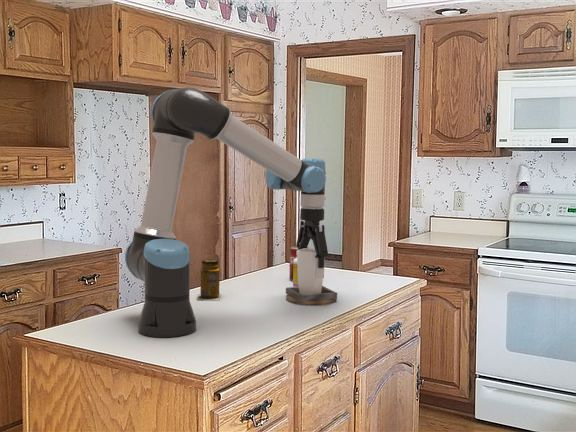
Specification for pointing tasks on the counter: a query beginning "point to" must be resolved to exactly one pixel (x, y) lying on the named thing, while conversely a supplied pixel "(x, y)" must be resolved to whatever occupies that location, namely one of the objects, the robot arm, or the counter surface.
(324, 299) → the dark brown tray
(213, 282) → the condiment
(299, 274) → the cup
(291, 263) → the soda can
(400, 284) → the counter surface
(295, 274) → the supplement bottle
